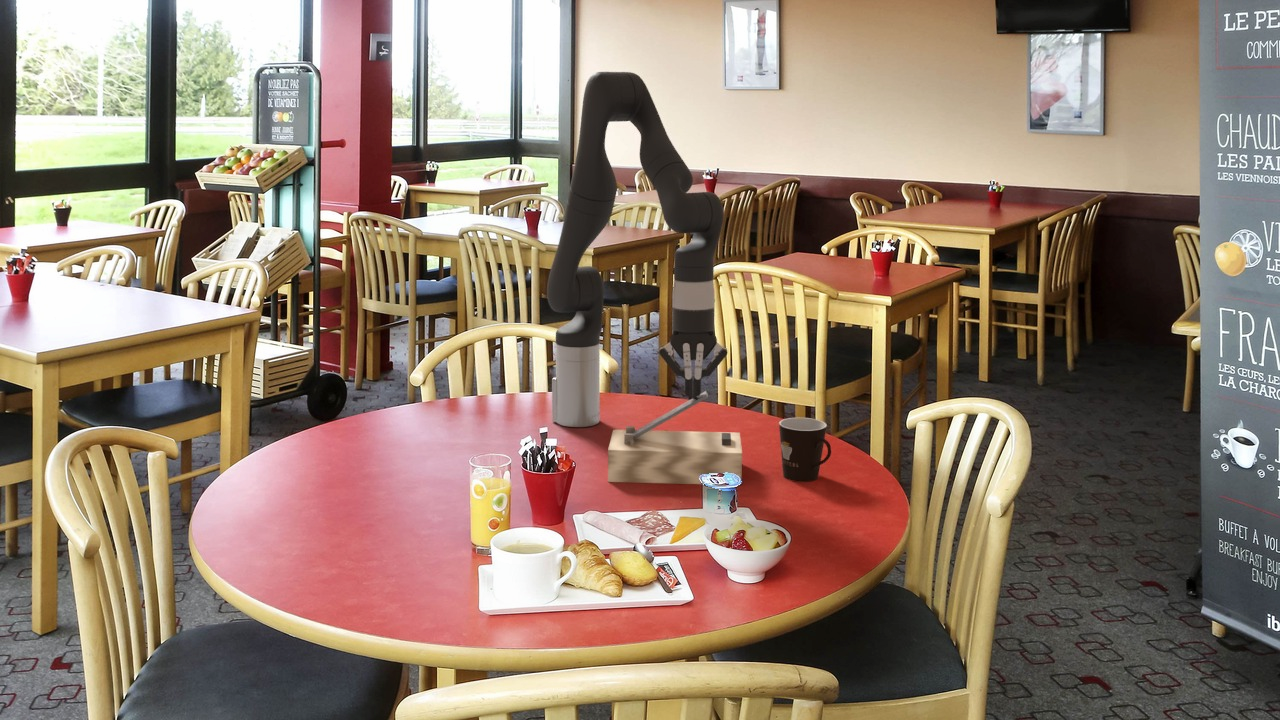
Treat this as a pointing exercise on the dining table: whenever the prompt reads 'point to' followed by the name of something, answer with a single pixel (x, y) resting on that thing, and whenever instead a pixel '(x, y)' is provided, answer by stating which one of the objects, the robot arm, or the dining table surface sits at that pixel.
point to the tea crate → (672, 456)
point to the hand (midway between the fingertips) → (693, 398)
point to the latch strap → (669, 415)
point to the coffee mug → (802, 448)
